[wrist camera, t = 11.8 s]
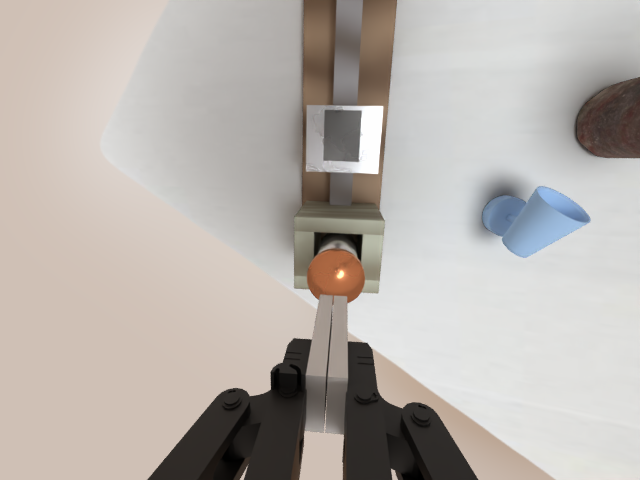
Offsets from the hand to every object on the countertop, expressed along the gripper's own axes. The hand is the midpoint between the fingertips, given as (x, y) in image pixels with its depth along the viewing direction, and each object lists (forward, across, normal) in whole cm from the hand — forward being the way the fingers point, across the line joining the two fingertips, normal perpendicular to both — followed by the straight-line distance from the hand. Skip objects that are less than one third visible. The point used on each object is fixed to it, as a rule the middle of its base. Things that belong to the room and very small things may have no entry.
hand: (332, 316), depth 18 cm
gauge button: (+13, 0, 0) cm, 13 cm away
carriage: (+17, 0, +10) cm, 20 cm away
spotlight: (+21, +19, +3) cm, 28 cm away
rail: (+20, 0, +11) cm, 23 cm away
